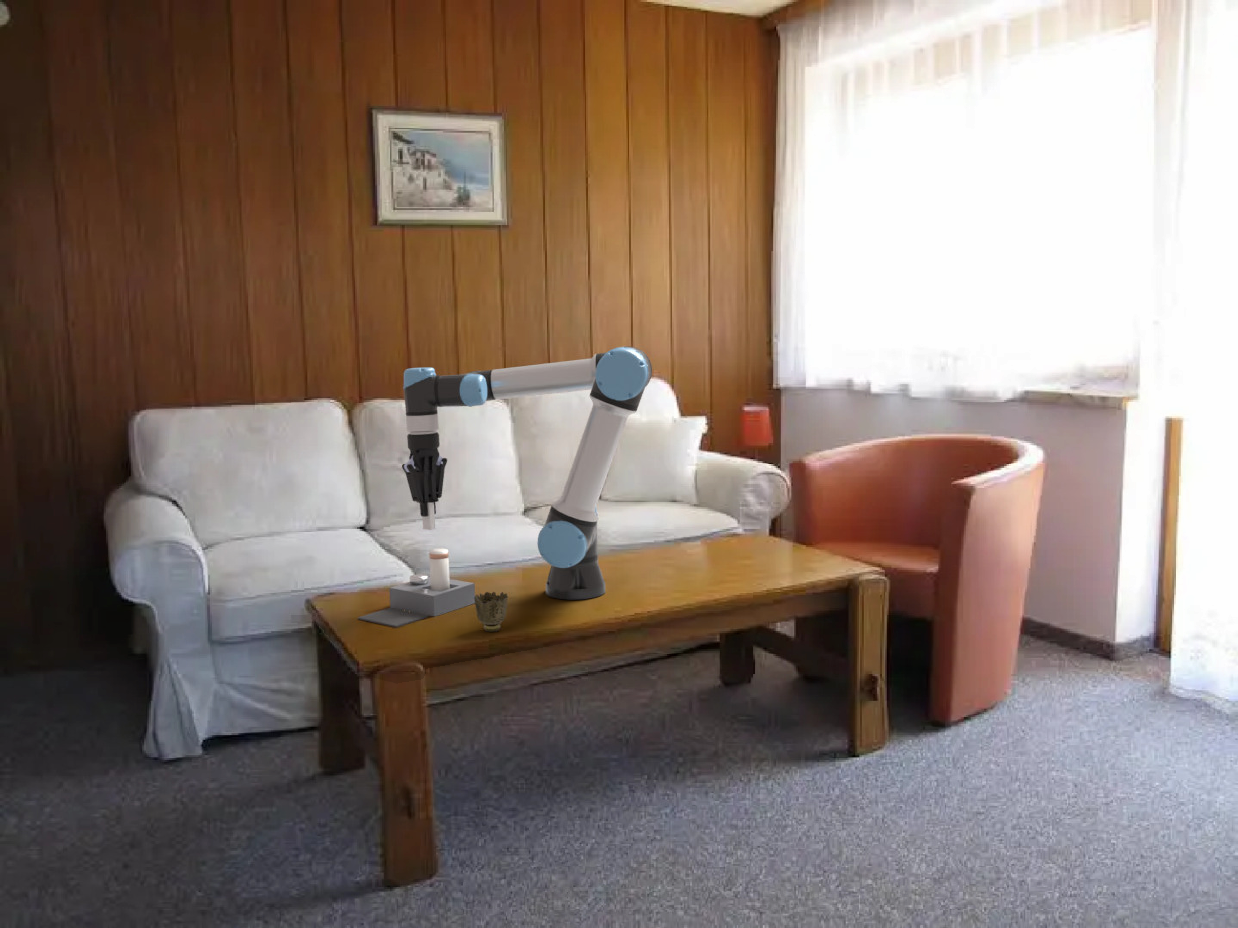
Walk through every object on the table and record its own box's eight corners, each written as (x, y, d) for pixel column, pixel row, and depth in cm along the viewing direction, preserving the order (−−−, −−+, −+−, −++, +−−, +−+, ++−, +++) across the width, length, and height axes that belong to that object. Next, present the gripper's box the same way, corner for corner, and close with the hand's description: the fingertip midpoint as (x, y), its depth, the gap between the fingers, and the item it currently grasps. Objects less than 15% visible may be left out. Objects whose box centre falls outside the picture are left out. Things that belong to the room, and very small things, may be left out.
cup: (469, 633, 234) (467, 598, 233) (485, 624, 241) (483, 590, 240) (499, 636, 232) (498, 601, 231) (514, 627, 239) (513, 592, 237)
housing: (475, 603, 259) (474, 583, 259) (434, 616, 248) (433, 596, 247) (431, 594, 268) (430, 575, 267) (390, 607, 257) (389, 587, 256)
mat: (428, 617, 248) (428, 615, 248) (396, 627, 240) (396, 625, 240) (390, 609, 255) (390, 607, 255) (358, 619, 247) (357, 617, 247)
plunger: (432, 599, 261) (431, 575, 260) (419, 603, 258) (418, 579, 257) (420, 596, 264) (418, 573, 263) (407, 600, 260) (405, 577, 259)
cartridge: (454, 606, 257) (452, 549, 255) (441, 610, 253) (438, 553, 251) (441, 603, 260) (438, 547, 258) (427, 607, 256) (425, 551, 254)
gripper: (431, 429, 260) (437, 522, 263) (391, 434, 250) (398, 532, 253) (453, 429, 256) (459, 525, 259) (413, 435, 245) (420, 535, 249)
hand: (429, 528), depth 256 cm, fingers closed
